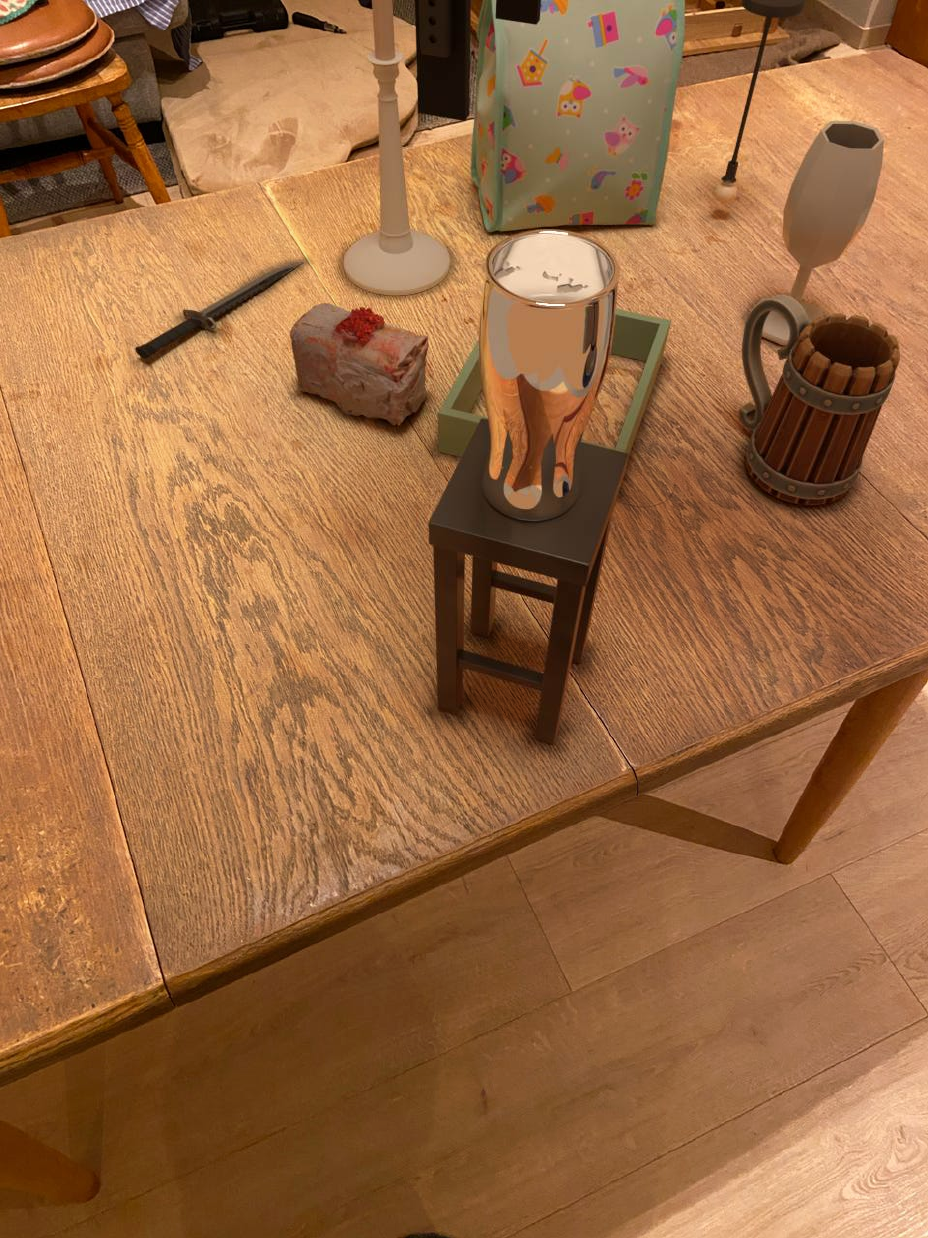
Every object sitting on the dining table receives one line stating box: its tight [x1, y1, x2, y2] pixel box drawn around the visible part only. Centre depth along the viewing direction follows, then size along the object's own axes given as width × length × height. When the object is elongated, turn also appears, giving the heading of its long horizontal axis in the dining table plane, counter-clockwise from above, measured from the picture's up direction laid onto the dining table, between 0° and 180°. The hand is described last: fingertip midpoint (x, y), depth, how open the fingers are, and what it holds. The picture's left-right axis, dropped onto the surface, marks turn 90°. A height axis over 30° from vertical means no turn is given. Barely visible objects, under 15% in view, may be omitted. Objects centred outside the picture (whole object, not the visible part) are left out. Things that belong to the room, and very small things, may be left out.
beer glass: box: [478, 228, 621, 521], centre depth 49 cm, size 7×7×15 cm
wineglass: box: [748, 120, 885, 346], centre depth 93 cm, size 9×9×21 cm
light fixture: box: [714, 0, 808, 205], centre depth 105 cm, size 7×7×25 cm
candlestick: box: [343, 0, 451, 296], centre depth 96 cm, size 13×13×30 cm
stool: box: [427, 418, 629, 745], centre depth 64 cm, size 10×10×22 cm
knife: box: [134, 261, 304, 360], centre depth 102 cm, size 25×2×5 cm
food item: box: [289, 302, 430, 426], centre depth 90 cm, size 14×8×10 cm, turn 63°
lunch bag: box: [470, 0, 686, 233], centre depth 106 cm, size 23×16×27 cm
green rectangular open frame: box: [437, 308, 672, 458], centre depth 91 cm, size 18×22×5 cm
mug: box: [737, 293, 901, 506], centre depth 83 cm, size 16×11×15 cm
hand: (483, 64), depth 53 cm, fingers open, 13 cm apart
